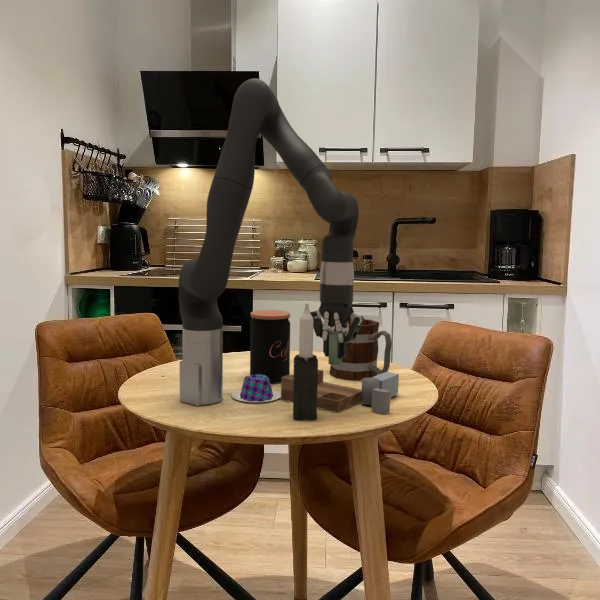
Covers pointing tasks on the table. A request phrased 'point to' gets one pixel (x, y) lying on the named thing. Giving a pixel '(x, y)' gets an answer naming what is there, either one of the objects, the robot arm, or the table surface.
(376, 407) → the block
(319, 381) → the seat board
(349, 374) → the mug
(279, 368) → the coffee jar
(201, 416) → the table surface
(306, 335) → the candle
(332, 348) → the dowel leg
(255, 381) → the pudding
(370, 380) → the hinged leg
